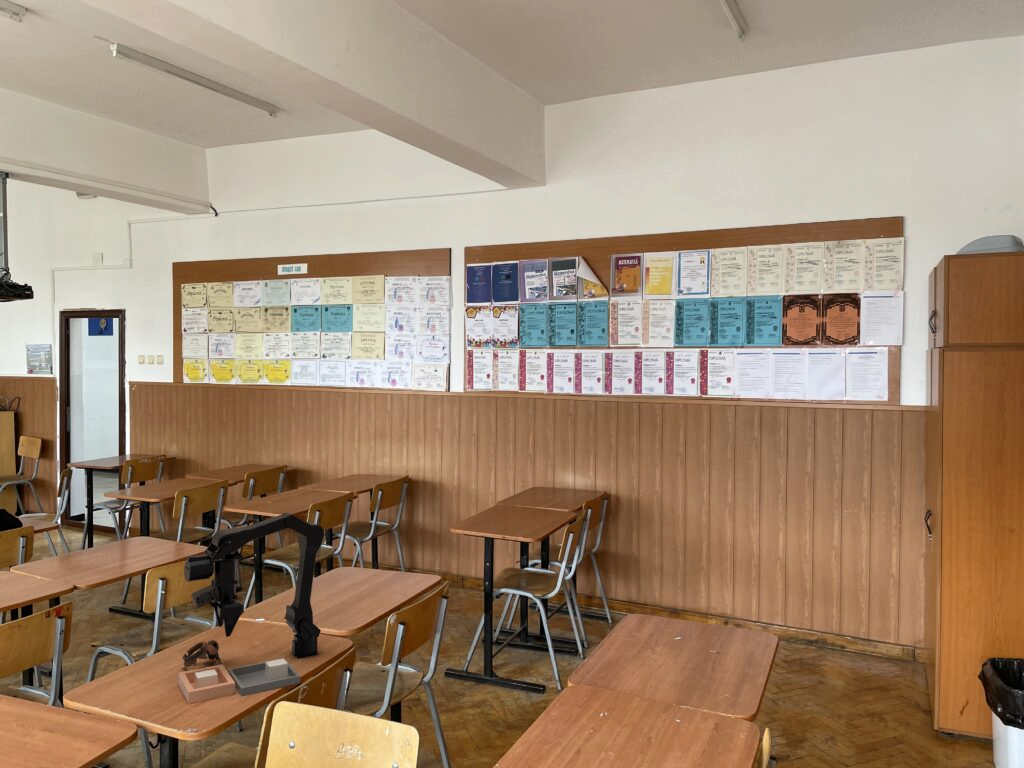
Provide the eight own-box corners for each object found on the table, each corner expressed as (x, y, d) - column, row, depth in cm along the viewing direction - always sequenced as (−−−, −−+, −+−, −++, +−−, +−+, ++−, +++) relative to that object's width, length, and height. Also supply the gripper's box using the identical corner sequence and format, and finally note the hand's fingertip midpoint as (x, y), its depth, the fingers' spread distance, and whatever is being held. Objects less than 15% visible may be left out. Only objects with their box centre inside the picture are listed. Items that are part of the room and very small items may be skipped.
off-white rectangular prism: (283, 672, 212) (283, 658, 212) (287, 677, 209) (287, 663, 209) (265, 676, 209) (265, 662, 209) (269, 681, 206) (269, 667, 206)
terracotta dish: (222, 676, 210) (222, 664, 210) (235, 696, 198) (235, 682, 198) (177, 685, 203) (178, 672, 203) (188, 706, 192) (188, 692, 191)
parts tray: (283, 667, 217) (284, 658, 217) (300, 685, 205) (300, 675, 205) (227, 678, 209) (227, 669, 209) (241, 698, 197) (241, 688, 197)
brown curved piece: (216, 676, 211) (200, 653, 210) (188, 688, 213) (172, 665, 211) (233, 649, 223) (218, 627, 221) (207, 661, 224) (192, 639, 223)
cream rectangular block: (214, 683, 204) (214, 669, 204) (217, 689, 200) (217, 674, 200) (194, 687, 201) (194, 672, 201) (197, 693, 198) (197, 678, 198)
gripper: (187, 571, 214) (186, 626, 215) (201, 588, 199) (200, 647, 199) (228, 566, 221) (227, 620, 221) (244, 582, 205) (244, 639, 205)
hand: (224, 631), depth 211 cm, fingers open, 9 cm apart
